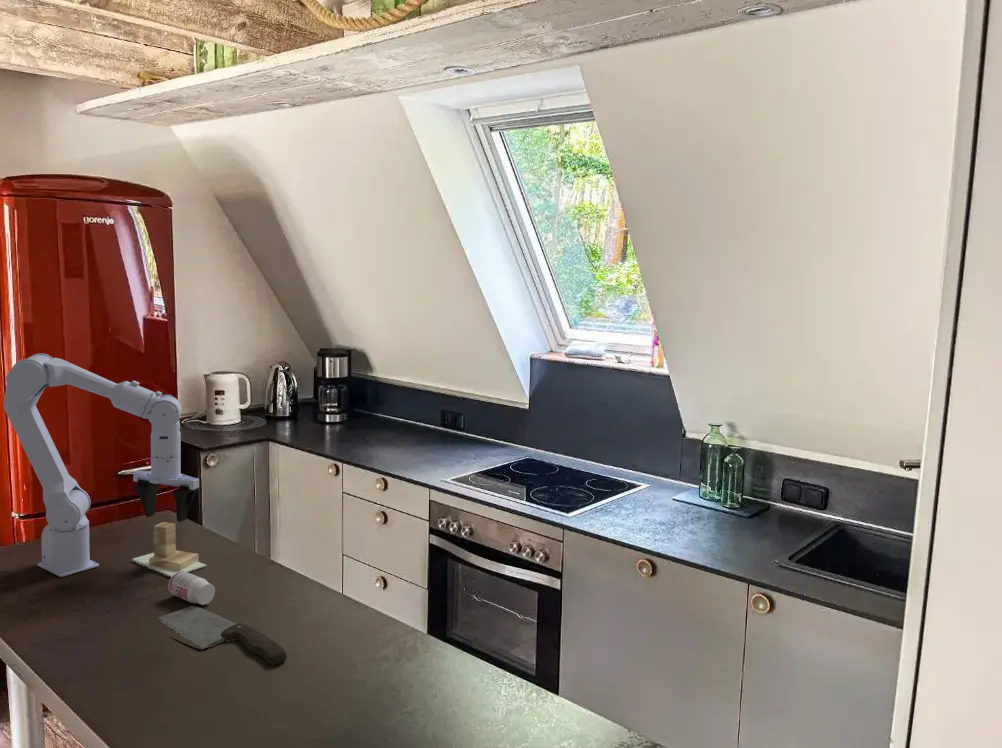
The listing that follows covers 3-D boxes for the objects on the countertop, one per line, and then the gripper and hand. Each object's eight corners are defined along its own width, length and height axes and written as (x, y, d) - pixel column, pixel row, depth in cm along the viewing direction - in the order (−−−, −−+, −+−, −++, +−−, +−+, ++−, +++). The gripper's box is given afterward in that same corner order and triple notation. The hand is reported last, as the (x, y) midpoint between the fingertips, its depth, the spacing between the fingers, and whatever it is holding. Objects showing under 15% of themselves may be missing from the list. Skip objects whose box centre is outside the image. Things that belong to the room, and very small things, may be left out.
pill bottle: (162, 584, 155) (191, 596, 150) (181, 565, 158) (209, 576, 153) (175, 600, 157) (203, 612, 153) (192, 580, 160) (221, 592, 156)
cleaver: (298, 657, 137) (298, 645, 136) (250, 680, 129) (250, 667, 128) (191, 609, 153) (191, 598, 153) (142, 627, 145) (142, 616, 145)
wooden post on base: (149, 565, 169) (148, 528, 168) (168, 555, 175) (167, 519, 174) (180, 570, 168) (180, 533, 166) (198, 560, 173) (198, 524, 172)
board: (132, 561, 173) (132, 558, 173) (166, 551, 179) (166, 548, 179) (172, 578, 165) (172, 575, 165) (206, 567, 171) (206, 564, 171)
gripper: (122, 455, 167) (123, 519, 169) (183, 463, 164) (184, 528, 165) (145, 447, 174) (146, 509, 176) (205, 455, 170) (205, 518, 172)
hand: (166, 518), depth 171 cm, fingers open, 7 cm apart
